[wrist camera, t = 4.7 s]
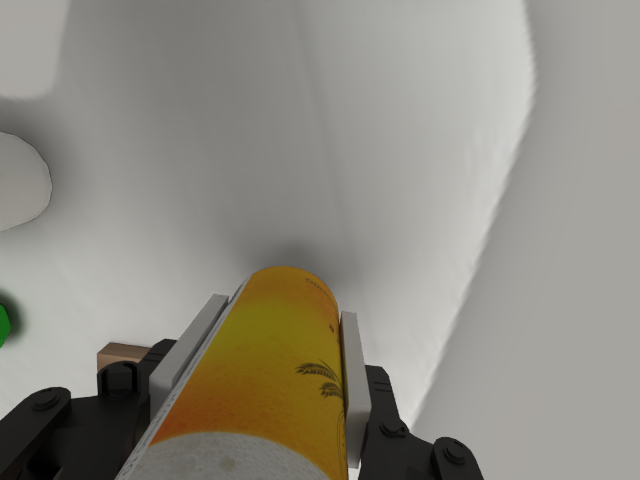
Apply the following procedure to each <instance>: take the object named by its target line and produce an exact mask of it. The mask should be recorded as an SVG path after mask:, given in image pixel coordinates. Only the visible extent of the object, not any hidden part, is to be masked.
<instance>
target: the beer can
mask: <svg viewBox="0 0 640 480" xmlns="http://www.w3.org/2000/svg"><path fill="white" fill-rule="evenodd" d="M115 480H349V477H348V461H347V444H346V428H345V411H344V395H343V378H342V362H341V345H340V329H339V313H338V307H337V303H336V300H335V298H334V296H333V294H332V292H331V291H330V289H329V288H328V287H327V285H326V284H325V283H324V282H323V281H322V280H320V279H319V278H318V277H316V276H315V275H314V274H312V273H310V272H308V271H305V270H303V269H300V268H296V267H291V266H274V267H269V268H265V269H262V270H260V271H258V272H256V273H254V274H252V275H251V276H250V277H248V278H247V279H246V280H245V281H244V282H243V283H242V284H241V285H240V287H239V288H238V290H237V291H236V293H235V294H234V296H233V297H232V299H231V300H230V302H229V303H228V305H227V307H226V308H225V310H224V311H223V313H222V314H221V316H220V317H219V319H218V320H217V322H216V324H215V325H214V327H213V328H212V330H211V331H210V333H209V334H208V336H207V337H206V339H205V341H204V342H203V344H202V345H201V347H200V348H199V350H198V351H197V353H196V354H195V356H194V358H193V359H192V361H191V362H190V364H189V365H188V367H187V368H186V370H185V371H184V373H183V375H182V376H181V378H180V379H179V381H178V382H177V384H176V385H175V387H174V388H173V390H172V392H171V393H170V395H169V396H168V398H167V399H166V401H165V402H164V404H163V405H162V407H161V409H160V410H159V412H158V413H157V415H156V416H155V418H154V419H153V421H152V422H151V424H150V426H149V427H148V429H147V430H146V432H145V433H144V435H143V436H142V438H141V439H140V441H139V443H138V444H137V446H136V447H135V449H134V450H133V452H132V453H131V455H130V456H129V458H128V460H127V461H126V463H125V464H124V466H123V467H122V469H121V470H120V472H119V473H118V475H117V477H116V478H115Z"/></svg>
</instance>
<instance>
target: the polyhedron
mask: <svg viewBox="0 0 640 480" xmlns="http://www.w3.org/2000/svg"><path fill="white" fill-rule="evenodd" d="M10 330H11V326H10V322H9V319H8V316H7V313H6V311H5V309H4V307H3V306H2V305H0V348H1V347H2V345H3V344H4V342H5V340H6V338H7V336H8V334H9V332H10Z"/></svg>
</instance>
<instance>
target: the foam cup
mask: <svg viewBox="0 0 640 480" xmlns="http://www.w3.org/2000/svg"><path fill="white" fill-rule="evenodd" d="M52 188H53V186H52V182H51V178H50V173H49V169H48V166H47V165H46V163H45V162H44V160H43V159H42V158H41V156H40V155H39V153H38V152H37V151H36V149H35V148H34V147H32V146H31V145H29V144H28V143H26V142H25V141H23V140H22V139H20V138H19V137H17V136H16V135H10V134H7V133H3V132H0V232H1V231H4V230H7V229H9V228H12V227H15V226H17V225H20V224H23V223H25V222H28V221H30V220H31V219H35V218H37V217H38V216H39V215H40V214H41V213H42V212H43V211H44V210H45V209H46V208H47V206H48V205H49V202H50V197H51V192H52Z"/></svg>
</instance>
